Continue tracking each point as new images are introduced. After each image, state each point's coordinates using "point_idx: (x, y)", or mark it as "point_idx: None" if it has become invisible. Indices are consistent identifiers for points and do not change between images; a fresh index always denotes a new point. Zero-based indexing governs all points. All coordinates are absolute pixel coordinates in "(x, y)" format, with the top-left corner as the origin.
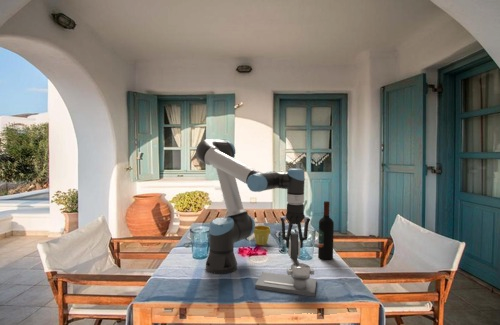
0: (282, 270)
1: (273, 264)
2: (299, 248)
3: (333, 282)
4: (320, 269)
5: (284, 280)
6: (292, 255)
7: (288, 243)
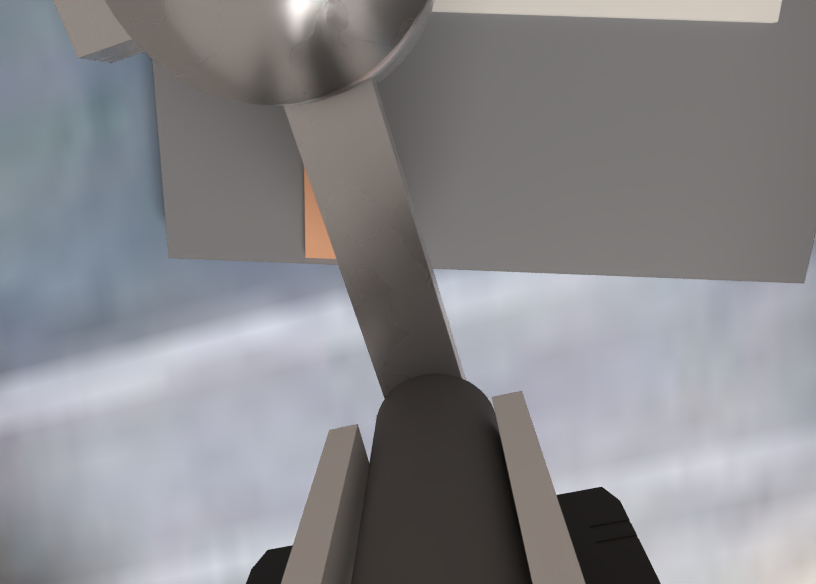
0: (562, 440)
1: (667, 557)
2: (319, 512)
3: (17, 288)
4: (183, 545)
5: (524, 115)
6: (460, 404)
7: (593, 566)
